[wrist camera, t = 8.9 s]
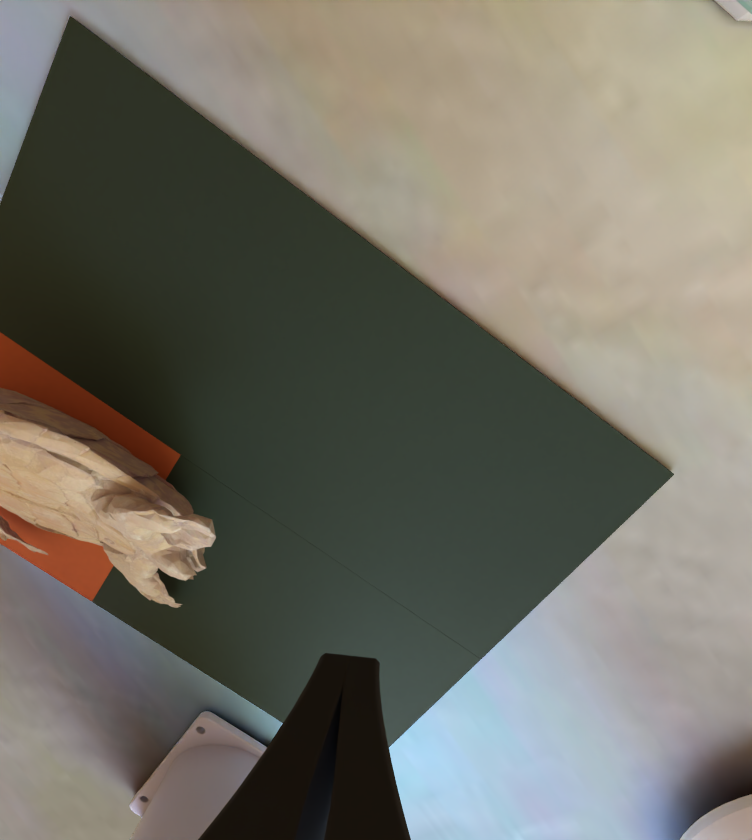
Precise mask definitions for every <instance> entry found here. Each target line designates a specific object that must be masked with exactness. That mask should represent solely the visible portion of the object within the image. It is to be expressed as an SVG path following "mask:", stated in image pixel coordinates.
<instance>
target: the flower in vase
mask: <svg viewBox="0 0 752 840" xmlns="http://www.w3.org/2000/svg"><path fill="white" fill-rule="evenodd" d="M680 840H752V794H751V795H748V796H744V797H741V798H738V799H735V800H733V801H730V802H728V803H725V804H723V805H721V806H719V807H717V808H715V809H713V810H712V811H710V812H708V813H707V814H705V815H704V816H702V817H701V818H700V819H698V820H697V821H696V822H695V823H694V824H692V825H691V826H690V827H689V829H688V830H687V831H686V832H685V833H684V834H683V835H682V837H681V838H680Z"/></svg>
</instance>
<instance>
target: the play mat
mask: <svg viewBox="0 0 752 840" xmlns="http://www.w3.org/2000/svg"><path fill="white" fill-rule="evenodd" d="M0 388H4V389H8V390H12V391H16V392H18V393H20V394H23V395H25V396H28V397H30V398H32V399H35V400H37V401H39V402H41V403H44V404H46V405H48V406H50V407H53V408H55V409H57V410H60V411H62V412H64V413H65V414H67V415H69V416H71V417H73V418H75V419H77V420H79V421H82V422H84V423H86V424H88V425H90V426H92V427H94V428H96V429H97V430H99V431H100V432H102V433H103V434H105V435H106V436H107V437H108V438H109V439H111V440H112V441H114V442H116V443H118V444H120V445H121V446H123V447H124V448H126V449H127V450H128V451H129V452H130V453H131V454H132V455H133V456H134V457H136V458H138V459H140V460H142V461H143V462H145V463H147V464H149V465H151V466H152V467H153V468H154V469H155V470H156V471H157V472H159V473H158V474H157V475H158V476H160V477H161V478H163V479H164V480H166V481H167V482H169V483H170V484H172V485H173V487H174V488H175V489H176V491H177V492H179V493H180V494H181V495H183V496H184V497H185V498H186V499H187V500H188V501H189V503H190V504H191V506H192V509H193V511H194V512H193V514H196V515H199V516H203V517H206V518H209V519H212V521H213V526H214V530H215V535H216V539H215V540H214V542H213V544H212V546H211V547H205V552H204V554H203V556H204V560H205V564H206V569H204V570H201V571H199V572H197V571H195V570H194V571H195V573H196V574H197V575H194V576H193V579H194V580H193V579H188V580H186V581H185V580H181V579H177V578H175V577H171V576H169V575H168V574H166V573H164V572H163V571H162V570H160V569H159V568H158V571H157V573H158V574H159V578H160V580H161V581H162V582H163V584H164V585H165V588H166V590H167V592H168V595H169V596H170V597H172V598H173V599H174V601H175V603H178V604H182V605H179V606H180V607H178V608H176V607H171V606H169V605H168V604H160V603H158V602H156V601H154V600H152V599H151V600H149V599H147V598H146V597H145V596H144V595H142V594H141V593H140V592H139V591H138V590H137V588H136V587H134V586H133V585H132V584H131V583H129V581H128V580H127V579H126V578H125V576H124V575H123V573H122V572H120V571H119V570H118V569H117V568H116V567H115V566H114V565H113V564H112V563H111V562H110V560H109V558H108V556H107V554H106V553H105V551H104V548H103V546H100V545H97V544H93V543H90V542H86V541H80V540H77V539H73V538H70V537H68V536H65V535H61V534H57V533H52V532H49V531H45V530H43V529H40V528H38V527H36V526H35V525H33V524H31V523H29V522H27V521H25V520H24V519H22V518H21V517H19V516H18V515H16V514H15V513H12V512H10V511H8V510H7V509H5V508H3V507H2V506H0V516H2V518H3V519H4V520H6V521H8V523H9V527H10V528H11V530H12V531H14V532H16V533H17V534H18V536H19V537H20V538H21V539H22V540H23V541H24V542H26V543H27V544H31V545H32V546H34V547H36V548H38V549H41V550H43V551H45V552H46V553H48V555H46V554H42V553H39V552H37V551H36V552H33V551H31V550H29V549H28V548H27V547H26V546H24V545H23V544H21V543H20V542H18V541H17V540H12V539H7V540H6V541H4V540H3V539H1V538H0V544H2V545H4V546H5V547H7V548H8V549H10V550H11V551H13V552H15V553H16V554H18V555H19V556H21V557H22V558H24V559H26V560H27V561H29V562H30V563H32V564H33V565H35V566H37V567H38V568H40V569H41V570H43V571H44V572H46V573H48V574H49V575H51V576H52V577H54V578H55V579H57V580H59V581H60V582H62V583H63V584H65V585H67V586H68V587H70V588H71V589H73V590H74V591H76V592H78V593H79V594H81V595H82V596H84V597H85V598H87V599H89V600H90V601H92V602H93V603H95V604H96V605H98V606H100V607H101V608H103V609H104V610H106V611H107V612H109V613H111V614H112V615H114V616H115V617H117V618H119V619H120V620H122V621H123V622H125V623H126V624H128V625H130V626H131V627H133V628H134V629H136V630H137V631H139V632H141V633H142V634H144V635H145V636H147V637H148V638H150V639H152V640H153V641H155V642H156V643H158V644H159V645H161V646H163V647H164V648H166V649H167V650H169V651H170V652H172V653H174V654H175V655H177V656H178V657H180V658H182V659H183V660H185V661H186V662H188V663H189V664H191V665H193V666H194V667H196V668H197V669H199V670H200V671H202V672H204V673H205V674H207V675H208V676H210V677H211V678H213V679H215V680H216V681H218V682H219V683H221V684H222V685H224V686H226V687H227V688H229V689H230V690H232V691H234V692H235V693H237V694H238V695H240V696H241V697H243V698H245V699H246V700H248V701H249V702H251V703H252V704H254V705H256V706H257V707H259V708H260V709H262V710H263V711H265V712H267V713H268V714H270V715H271V716H273V717H274V718H276V719H278V720H279V721H281V722H282V723H284V721H285V719H286V718H287V716H288V715H289V713H290V712H291V710H292V708H293V707H294V705H295V703H296V702H297V700H298V698H299V697H300V695H301V693H302V692H303V690H304V688H305V686H306V685H307V683H308V681H309V679H310V677H311V675H312V673H313V671H314V670H315V668H316V666H317V663H318V661H319V659H320V657H321V656H322V655H323V654H325V653H331V654H340V655H349V656H359V657H368V658H376V659H377V660H378V661H379V662H380V672H379V681H380V695H381V704H382V712H383V720H384V726H385V732H386V737H387V742H388V747H390V746H391V745H392V744H393V743H394V742H395V741H396V740H397V739H398V738H399V737H400V736H401V735H402V734H403V733H404V732H405V731H406V730H407V729H408V728H410V727H411V726H412V725H413V724H414V723H415V722H416V721H417V720H418V719H419V718H420V717H421V716H422V715H423V714H424V713H425V712H426V711H427V710H428V709H429V708H430V707H431V706H433V705H434V704H435V703H436V702H437V701H438V700H439V699H440V698H441V697H442V696H443V695H444V694H445V693H446V692H447V691H448V690H449V689H450V688H451V687H452V686H453V685H454V684H456V683H457V682H458V681H459V680H460V679H461V678H462V677H463V676H464V675H465V674H466V673H467V672H468V671H469V670H470V669H471V668H472V667H473V666H474V665H475V664H476V663H478V662H479V661H480V660H481V659H482V658H483V657H484V656H485V655H486V654H487V653H488V652H489V651H490V650H491V649H492V648H493V647H494V646H495V645H496V644H497V643H498V642H499V641H501V640H502V639H503V638H504V637H505V636H506V635H507V634H508V633H509V632H510V631H511V630H512V629H513V628H514V627H515V626H516V625H517V624H518V623H519V622H520V621H521V620H522V619H524V618H525V617H526V616H527V615H528V614H529V613H530V612H531V611H532V610H533V609H534V608H535V607H536V606H537V605H538V604H539V603H540V602H541V601H542V600H543V599H544V598H545V597H547V596H548V595H549V594H550V593H551V592H552V591H553V590H554V589H555V588H556V587H557V586H558V585H559V584H560V583H561V582H562V581H563V580H564V579H565V578H566V577H567V576H568V575H570V574H571V573H572V572H573V571H574V570H575V569H576V568H577V567H578V566H579V565H580V564H581V563H582V562H583V561H584V560H585V559H586V558H587V557H588V556H589V555H590V554H591V553H593V552H594V551H595V550H596V549H597V548H598V547H599V546H600V545H601V544H602V543H603V542H604V541H605V540H606V539H607V538H608V537H609V536H610V535H611V534H612V533H613V532H614V531H616V530H617V529H618V528H619V527H620V526H621V525H622V524H623V523H624V522H625V521H626V520H627V519H628V518H629V517H630V516H631V515H632V514H633V513H634V512H635V511H636V510H637V509H639V508H640V507H641V506H642V505H643V504H644V503H645V502H646V501H647V500H648V499H649V498H650V497H651V496H652V495H653V494H654V493H655V492H656V491H657V490H658V489H659V488H661V487H662V486H663V485H664V484H665V483H666V482H667V481H668V480H669V479H670V478H671V477H672V476H673V475H674V474H673V473H672V472H671V471H669V470H668V469H667V468H665V467H664V466H663V465H661V464H660V463H659V462H657V461H656V460H655V459H654V458H652V457H651V456H650V455H648V454H647V453H646V452H644V451H643V450H642V449H640V448H639V447H638V446H636V445H635V444H634V443H632V442H631V441H630V440H628V439H627V438H626V437H625V436H623V435H622V434H621V433H619V432H618V431H617V430H615V429H614V428H613V427H611V426H610V425H609V424H607V423H606V422H605V421H603V420H602V419H601V418H600V417H598V416H597V415H596V414H594V413H593V412H592V411H590V410H589V409H588V408H586V407H585V406H584V405H582V404H581V403H580V402H578V401H577V400H576V399H574V398H573V397H572V396H571V395H569V394H568V393H567V392H565V391H564V390H563V389H561V388H560V387H559V386H557V385H556V384H555V383H553V382H552V381H551V380H549V379H548V378H547V377H545V376H544V375H543V374H542V373H540V372H539V371H538V370H536V369H535V368H534V367H532V366H531V365H530V364H528V363H527V362H526V361H524V360H523V359H522V358H520V357H519V356H518V355H516V354H515V353H514V352H513V351H511V350H510V349H509V348H507V347H506V346H505V345H503V344H502V343H501V342H499V341H498V340H497V339H495V338H494V337H493V336H491V335H490V334H489V333H487V332H486V331H485V330H484V329H482V328H481V327H480V326H478V325H477V324H476V323H474V322H473V321H472V320H470V319H469V318H468V317H466V316H465V315H464V314H462V313H461V312H460V311H458V310H457V309H456V308H455V307H453V306H452V305H451V304H449V303H448V302H447V301H445V300H444V299H443V298H441V297H440V296H439V295H437V294H436V293H435V292H433V291H432V290H431V289H429V288H428V287H427V286H426V285H424V284H423V283H422V282H420V281H419V280H418V279H416V278H415V277H414V276H412V275H411V274H410V273H408V272H407V271H406V270H404V269H403V268H402V267H400V266H399V265H398V264H397V263H395V262H394V261H393V260H391V259H390V258H389V257H387V256H386V255H385V254H383V253H382V252H381V251H379V250H378V249H377V248H375V247H374V246H373V245H371V244H370V243H369V242H368V241H366V240H365V239H364V238H362V237H361V236H360V235H358V234H357V233H356V232H354V231H353V230H352V229H350V228H349V227H348V226H346V225H345V224H344V223H342V222H341V221H340V220H339V219H337V218H336V217H335V216H333V215H332V214H331V213H329V212H328V211H327V210H325V209H324V208H323V207H321V206H320V205H319V204H317V203H316V202H315V201H313V200H312V199H311V198H310V197H308V196H307V195H306V194H304V193H303V192H302V191H300V190H299V189H298V188H296V187H295V186H294V185H292V184H291V183H290V182H288V181H287V180H286V179H284V178H283V177H282V176H281V175H279V174H278V173H277V172H275V171H274V170H273V169H271V168H270V167H269V166H267V165H266V164H265V163H263V162H262V161H261V160H259V159H258V158H257V157H255V156H254V155H253V154H252V153H250V152H249V151H248V150H246V149H245V148H244V147H242V146H241V145H240V144H238V143H237V142H236V141H234V140H233V139H232V138H230V137H229V136H228V135H226V134H225V133H224V132H223V131H221V130H220V129H219V128H217V127H216V126H215V125H213V124H212V123H211V122H209V121H208V120H207V119H205V118H204V117H203V116H201V115H200V114H199V113H197V112H196V111H195V110H194V109H192V108H191V107H190V106H188V105H187V104H186V103H184V102H183V101H182V100H180V99H179V98H178V97H176V96H175V95H174V94H172V93H171V92H170V91H168V90H167V89H166V88H165V87H163V86H162V85H161V84H159V83H158V82H157V81H155V80H154V79H153V78H151V77H150V76H149V75H147V74H146V73H145V72H143V71H142V70H141V69H139V68H138V67H137V66H136V65H134V64H133V63H132V62H130V61H129V60H128V59H126V58H125V57H124V56H122V55H121V54H120V53H118V52H117V51H116V50H114V49H113V48H112V47H110V46H109V45H108V44H107V43H105V42H104V41H103V40H101V39H100V38H99V37H97V36H96V35H95V34H93V33H92V32H91V31H89V30H88V29H87V28H85V27H84V26H83V25H81V24H80V23H79V22H78V21H76V20H75V19H74V18H72V17H71V16H70V17H69V20H68V23H67V25H66V28H65V31H64V33H63V36H62V39H61V42H60V44H59V47H58V50H57V52H56V55H55V58H54V60H53V63H52V66H51V69H50V71H49V74H48V77H47V79H46V82H45V85H44V87H43V90H42V93H41V96H40V98H39V101H38V104H37V106H36V109H35V112H34V114H33V117H32V120H31V123H30V125H29V128H28V131H27V133H26V136H25V139H24V141H23V144H22V147H21V150H20V152H19V155H18V158H17V160H16V163H15V166H14V168H13V171H12V174H11V177H10V179H9V182H8V185H7V187H6V190H5V193H4V195H3V198H2V201H1V203H0Z"/></svg>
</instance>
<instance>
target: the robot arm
mask: <svg viewBox="0 0 752 840" xmlns="http://www.w3.org/2000/svg"><path fill="white" fill-rule="evenodd" d="M379 672H380V662H379V661H378V660H377V659H376V658H368V657H359V656H349V655H340V654H331V653H325V654H323V655H322V656H321V657H320V659H319V661H318V663H317V666H316V668H315V670H314V671H313V673H312V675H311V677H310V679H309V681H308V683H307V685H306V686H305V688H304V690H303V692H302V693H301V695H300V697H299V698H298V700H297V702H296V703H295V705H294V707H293V708H292V710H291V712H290V713H289V715H288V716H287V718H286V719H285V721H284V723H283V724H282V726H281V727H280V729H279V730H278V732H277V734H276V735H275V737H274V738H273V740H272V741H271V743H270V744H269V746H268V747H266V746H264V745H263V744H261V743H260V742H258V741H257V740H255V739H253V738H252V737H250V736H249V735H247V734H245V733H244V732H242V731H241V730H239V729H237V728H236V727H234V726H233V725H231V724H229V723H228V722H226V721H225V720H223V719H221V718H220V717H218V716H217V715H215V714H213V713H212V712H209V711H205V712H202V713H201V714H200V715H199V716H198V717H197V719H196V720H195V721H194V722H193V724H192V725H191V726H190V727H189V729H188V730H187V731H186V732H185V734H184V735H183V736H182V737H181V739H180V740H179V741H178V742H177V744H176V745H175V746H174V747H173V749H172V750H171V751H170V752H169V754H168V755H167V756H166V757H165V759H164V760H163V761H162V762H161V764H160V765H159V766H158V767H157V769H156V770H155V771H154V772H153V774H152V775H151V776H150V777H149V779H148V780H147V781H146V782H145V784H144V785H143V786H142V787H141V789H140V790H139V791H138V792H137V794H136V795H135V796H134V797H133V799H132V801H131V803H130V809H131V810H132V811H133V812H134V813H136V814H138V815H139V816H141V817H142V818H141V820H140V822H139V823H138V825H137V827H136V829H135V831H134V833H133V834H132V836H131V838H130V840H411V839H410V835H409V832H408V828H407V824H406V821H405V817H404V813H403V809H402V805H401V801H400V797H399V793H398V789H397V785H396V781H395V776H394V772H393V767H392V763H391V758H390V753H389V747H388V742H387V737H386V732H385V726H384V720H383V712H382V704H381V695H380V681H379Z"/></svg>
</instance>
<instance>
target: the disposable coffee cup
mask: <svg viewBox="0 0 752 840" xmlns="http://www.w3.org/2000/svg"><path fill="white" fill-rule="evenodd" d="M714 1H716V2H717V3H718V4H719V5H720V6H721V7H722V8H723V9H724V10H726V11H727V12H728V13H729V14H730V15H731V16H732V17H733V18H735V19H736V20H739V21H752V0H714Z"/></svg>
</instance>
